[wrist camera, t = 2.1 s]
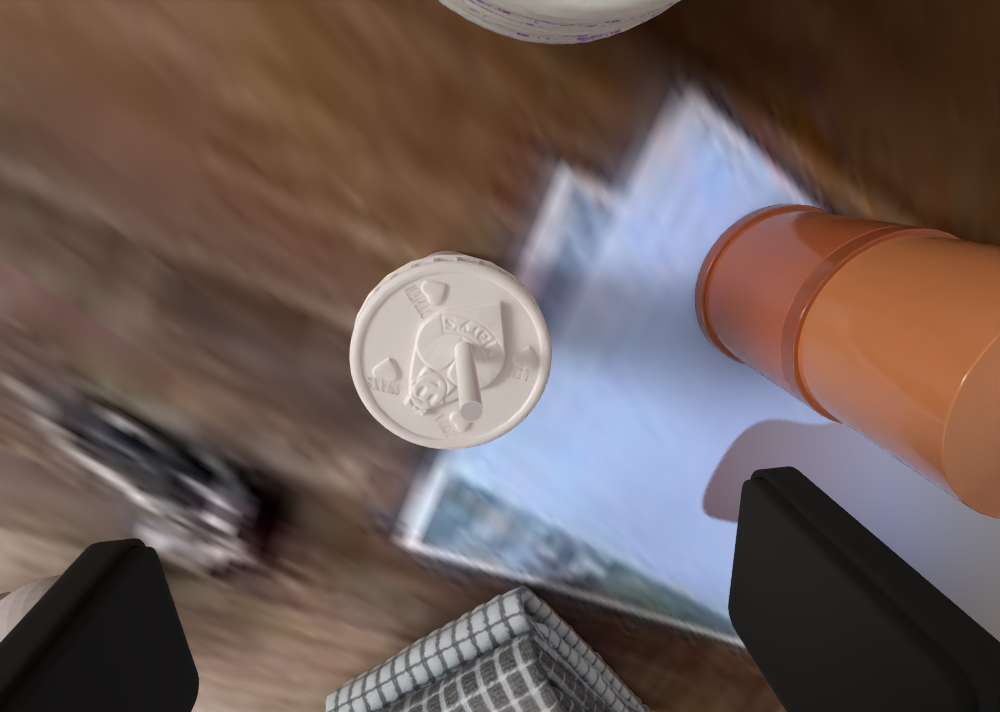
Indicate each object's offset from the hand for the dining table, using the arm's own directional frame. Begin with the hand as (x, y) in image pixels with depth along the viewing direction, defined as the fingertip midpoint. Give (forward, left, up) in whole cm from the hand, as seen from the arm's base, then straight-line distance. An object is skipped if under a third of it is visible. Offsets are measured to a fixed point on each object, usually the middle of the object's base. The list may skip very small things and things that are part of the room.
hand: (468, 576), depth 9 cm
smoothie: (0, 0, -19) cm, 19 cm away
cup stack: (+4, +16, -18) cm, 25 cm away
